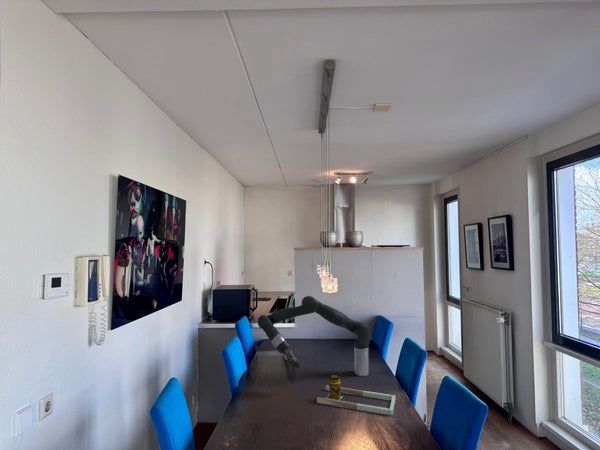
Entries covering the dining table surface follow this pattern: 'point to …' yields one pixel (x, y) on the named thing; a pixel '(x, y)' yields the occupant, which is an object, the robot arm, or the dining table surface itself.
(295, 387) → the dining table surface
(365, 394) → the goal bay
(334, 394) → the condiment
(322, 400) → the wooden guide rails
